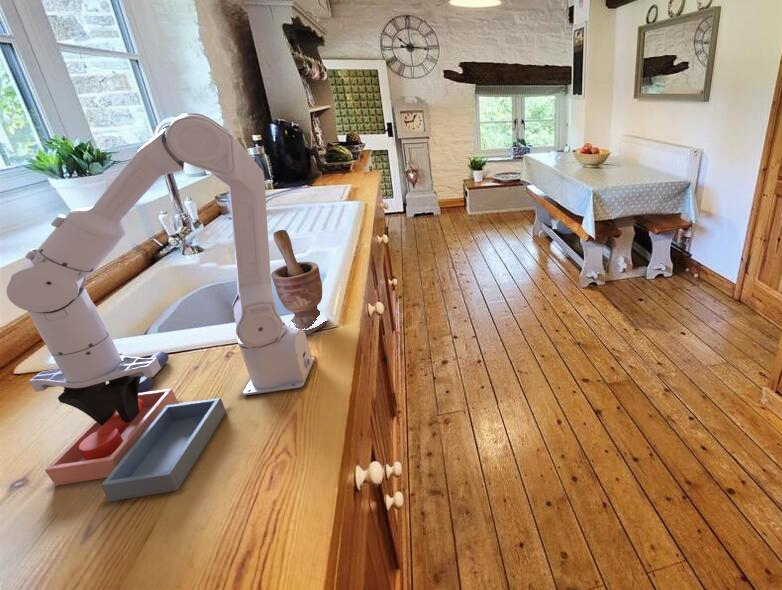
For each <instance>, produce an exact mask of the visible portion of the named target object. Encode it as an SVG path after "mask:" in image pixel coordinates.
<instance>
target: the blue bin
mask: <svg viewBox="0 0 782 590" xmlns="http://www.w3.org/2000/svg"><path fill="white" fill-rule="evenodd" d="M226 413H227V411H226V408H225V405H224V403H223V400H222V398H221V397H216V398H207V399H202V400H193V401H187V402H178V403H177V404H172V405H166V406H165V407H164V409H163V410H162V411H161V412H160V414H159V415H158V416H157V417H156V419H155V420H154V421H153V422H152V423H151V425H150V426H149V427H148V428H147V430H146V431H145V432H144V433H143V434H142V436H141V437H140V438H139V439H138V441H137V442H136V443H135V444H134V445H133V447H132V448H131V449H130V450H129V451H128V453H127V454H126V455H125V456H124V458H123V459H122V460H121V461H120V462H119V464H118V465H117V466H116V467H115V469H114V470H113V471H112V472H111V473H110V475H109V476H108V477H107V478H105V479H104V481H103V482H102V483H101V484H100V487H101V489H102V491H103V492H104V493H105V495H106V497H107V499H108V500H109V502H114V501H115V502H116V501H121V500H127V499H134V498H140V497H146V496H151V495H157V494H163V493H164V494H165V493H170V492H176V491H178V490H179V489H180V488H181V486H182V484H183V482H184V481H185V479H186V477H187V476H188V474H189V473H190V471H191V469H192V468H193V466H194V465H195V463H196V461H197V460H198V458H199V456H200V455H201V453H202V452H203V450H204V449H205V447H206V445H207V444H208V442H209V440H210V439H211V438H212V436H213V434H214V432H215V431H216V429H217V427H218V426H219V424H220V423H221V421H222V419H223V418H224V416H225V415H226Z"/></svg>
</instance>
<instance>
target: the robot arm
mask: <svg viewBox="0 0 782 590" xmlns="http://www.w3.org/2000/svg"><path fill="white" fill-rule="evenodd" d="M185 164H188V165H190V166H192V167H195V168H198V169H201V170H204V171H207V172H208V173H210V174H211V175H213V176H214V177H216V178H217V179H218V180H220V181H221V182H223V183H224V184H226V185H227V186H228V193H229V204H230V216H231V226H232V239H233V250H234V260H235V261H234V262H235V273H236V296H235V298H234V300H233V302H232V305H231V312H232V315H233V317H234V323H235V334H236V337H237V338H236V341H237V344H238V347H239V350H240V353H241V356H242V359H243V361H244V364H245V367H246V370H247V372H248V376H249V378H250V379H249V381H248V383H247V384H246V386H245V388H244V389H243V391H242V395H243V396H248V395H257V394H263V393H264V394H265V393H271V392H279V391H287V390H295V389H300V388H303V387H304V385H305V383H306V381H307V378H308V375H309V373H310V371H311V369H312V366H313V363H314V361H315V357H314V356H312V352H311V349H310V344H309V341H308V337H307V334H305V332H304V331H303V330H302V329H293V328H290V326H289V327H288V326H287V325H286V323H285V322H284V321H283V319H282V317H281V316H280V314H279V312H278V309H277V307H276V304H275V303H276V302H275V297H274V291H273V286H272V277H271V262H270V261H271V260H270V245H269V227H268V212H267V210H268V209H267V197H266V180H265V174H264V171H263V170H262V168H261V167H260V166H259V165H258V163H257V162H256V161H255V160H254V159H253V157H252V156H251V155H250V154H249V153H248V152H247V150H246V149H245V148H244V147H243V146H242V145H241V143H240V142H239V141H238V140H237V138H235V136H234V135H233V134H232V133H231V132H230V131H229V130H228V129H227V128H225V127H224V126H222V125H221V124H220V123H218V122H217V121H215V120H213V119H212V118H210V117H208V116H207V115H204V114H201V113H196V112H187V113H182V114H180V115H178V116H177V117H175V118H174V119H173V120H172V121H171V123H170V125H169V126H168V128H167V130H166V128H164V129H162V130H161V131H160V132H158V133H157V134H156V135H154V136H153V137H152V138H150V139H149V141H147V142H146V143H145V144H143V145H142V146H141V147H140V148H139V149H138V150H137V151H136V152H135V154H134V155H133V156H132V158H130V160H129V161H128V162H127V164H126V165H125V166H124V168H122V170H121V171H120V172H119V174H118V175H117V176H116V177H115V179H114V180H113V181H112V182H111V184H110V185H109V186H108V187H107V189H106V190H105V191H104V192H103V194H101V196H100V198H98V200H97V201H96V202H95V204H94V205H93V206H90V207H84V208H83V207H81V208H76V209H71V210H70V211H69V212H68V213H67V215H64V214H59V215H57V217H56V218H55V219H54V220H53V221H52V222H51V224H50V225H51V226H52V227H55V229H53V231H52V232H51V233H50V234H49V235H48V237H46V239H45V240H44V241H43V242H42V243H41V245H40V246H39V247H38V248H34V247H33V248H31V249H30V250H29V251H28V252H27V253H26V255H24V257H25V258H26V259H27V260H28V261H27V262H26V263H25V264H24V265H23V266H22V267H20V269H19V270H18V271H16V272H15V273H13V274H12V275H11V276H10V280H9V282H8V284H7V286H6V295H7V298H8V300H9V301H10V302H11V303H12V304H13V305H14V306H15V307H17V308H20V309H22V310H24V311H27V313H28V315H29V317H30V318H31V320H32V322H33V325H34V327H35V328H36V330H37V332H38V334H39V335H40V337H41V339H42V341H43V343H44V344H45V347H46V348H47V349H48V351H49V353H50V354H51V356H52V358H53V359H54V362H55V363H56V365H57V367H58V368H54V369H49V370H44V371H43V370H42V371H40V372H38V373H37V374H36V375H34V376H33V377H32V378H31V379H29V380H28V382H29V384H30V386H31V387H32V389H33V390H34V392H35V393H37V392H44V391H46V390H47V389H49V388H56V387H57V388H58V387H59V388H60V387H62V388H63V392H61V393H60V394H59V396H58V397H57V400H58V401H59V403H62V404H65V405H68V406H71V407H73V408H75V409H77V410H79V411H80V412H82V413H84V414H85V415H86V416H89V417H90V418H91V419H92V420H93V421H94V420H95V421H96V422H97V423H99V424H100V425H101V426H103V425H104V424H105V423H106V421H107V420H108V419H109V418H110V417H111V416H112V415H113V414H114V413H115V412H116V411H117V412H118V414H119V416H120V417H121V419H122V420H123V421H124V422H126V423H128V422H132V421H133V419H134V418H135V417H136V416H137V415H138V414H139V413H140V412H139V404H138V389H139V383H140V379H141V376H143V375H144V376H145V377H146V378H148V377H152V378H153V377H155V376H156V375H157V373H158V372H159V371H160V370H161V369H162V368H161V367H160V364H159V362H158V360H157V358H150V357H137V356H125V355H123V352H122V351H121V350H119V351H118V349H117V347H116V344H115V343H114V341H113V338H112V336H111V335H110V333H109V331H108V329H107V327H106V325H105V323H104V321H103V318H102V317H101V314H100V313H99V310H98V309H97V307H96V304H95V303H94V302H93V300H92V299H91V297H90V295H89V292H88V291H87V288H86V287H84V285H85V283H86V280H87V277H88V276H91V275H93V274H94V273H95V271H97V269H98V268H99V267H100V266H101V264H102V263H103V262H104V261H105V260H106V259H107V257H108V256H109V255H110V253H112V251H113V250H114V249H115V248H116V247H117V245H118V244H119V243H120V242H121V241H122V240H123V238H124V237H125V235H126V231H125V228H124V227H123V223H122V220H123V218H124V217H125V216H126V215H127V214H128V213H129V212H130V211H131V210H132V209H133V207H134V206H135V205H136V204H137V203H139V201H140V200H141V199H142V198H143V196H144V195H146V193H147V192H148V191H149V190H150V188H152V186H153V185H154V184H155V183H156V182H157V181H158V180H159V179H160V178H161V177H163V176H166V175H169V174H173V173H177V172H181V171H183V170H184V169H185ZM107 382H108V383H107ZM115 409H116V410H115Z"/></svg>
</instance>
